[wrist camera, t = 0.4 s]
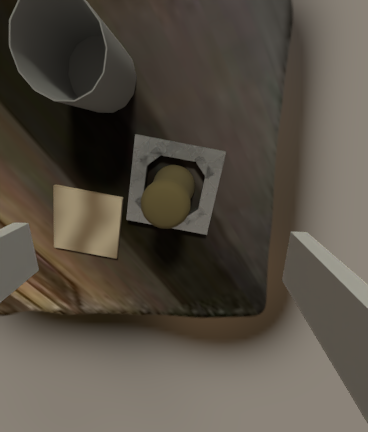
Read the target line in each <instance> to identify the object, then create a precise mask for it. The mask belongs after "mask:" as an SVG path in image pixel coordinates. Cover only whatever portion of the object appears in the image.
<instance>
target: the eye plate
mask: <svg viewBox="0 0 368 432" xmlns="http://www.w3.org/2000/svg"><path fill="white" fill-rule="evenodd" d="M225 154H226V151H221V150H216V149H211V148H205V147H200V146H195V145H190V144H185V143H179V142H174V141H169V140H164V139H158V138H153V137H148V136H143V135H138V134H135V142H134V151H133V161H132V170H131V180H130V189H129V199H128V209H127V218H126V220H130V221H135V222H141V223H146V224H151V223H149V222H148V221H147V220H146V218H145V217H144V215H143V213H142V210H141V198H142V194H143V192H144V191H145V187H146V179H147V171H148V164H150V163H151V162H153V161H154V160H155V159H157V158H158V157H159V156H161V155H162V156H167V157H172V158H178V159H183V160H188V161H193V162H196V163H197V165H198V166H199V168H200V169H201V171H202V172H203V174H204V175H205V177H204V182H203V187H202V192H201V196H200V201H199V206H198V208H196V209H194V210H193V211H191V212H190V213H189V214H188V216H187V218H186V219H185V220H184V222H182V223H181V224H179V225H178V226H176V227H173V229H178V230H183V231H189V232H194V233H199V234H205V235H207V232H208V227H209V223H210V219H211V214H212V210H213V206H214V202H215V197H216V193H217V189H218V184H219V180H220V176H221V172H222V167H223V163H224V159H225ZM151 225H152V224H151Z"/></svg>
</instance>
